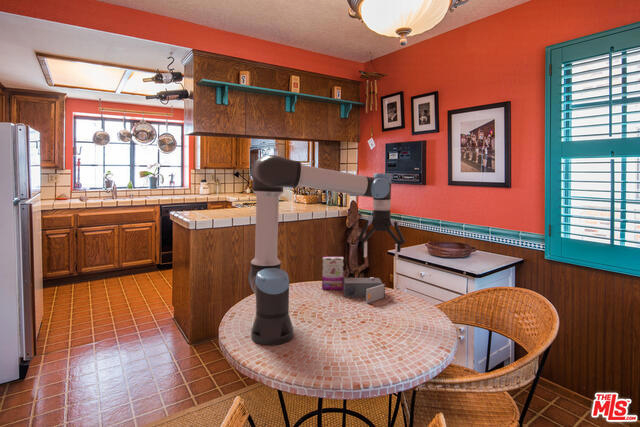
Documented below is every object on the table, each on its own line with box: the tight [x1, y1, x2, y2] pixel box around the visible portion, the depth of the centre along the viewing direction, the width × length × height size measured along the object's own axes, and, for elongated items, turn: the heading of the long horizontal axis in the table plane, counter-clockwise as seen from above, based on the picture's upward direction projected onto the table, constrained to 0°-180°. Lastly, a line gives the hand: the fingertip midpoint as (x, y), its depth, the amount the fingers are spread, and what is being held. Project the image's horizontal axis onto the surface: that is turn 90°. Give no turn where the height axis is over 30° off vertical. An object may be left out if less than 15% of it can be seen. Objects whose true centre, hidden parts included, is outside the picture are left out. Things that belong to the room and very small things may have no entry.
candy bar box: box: [321, 256, 345, 291], centre depth 184 cm, size 11×5×16 cm, turn 88°
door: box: [365, 283, 386, 304], centre depth 167 cm, size 13×2×7 cm, turn 131°
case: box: [342, 276, 384, 298], centre depth 175 cm, size 18×11×8 cm, turn 91°
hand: (380, 258), depth 156 cm, fingers open, 13 cm apart
